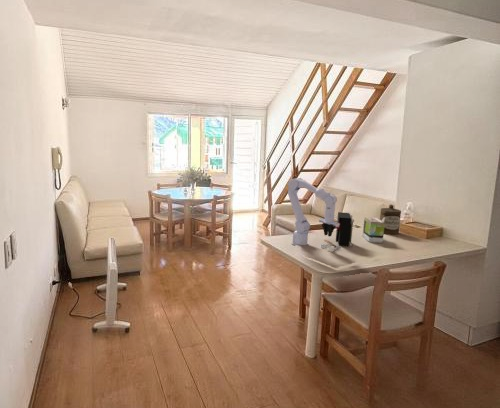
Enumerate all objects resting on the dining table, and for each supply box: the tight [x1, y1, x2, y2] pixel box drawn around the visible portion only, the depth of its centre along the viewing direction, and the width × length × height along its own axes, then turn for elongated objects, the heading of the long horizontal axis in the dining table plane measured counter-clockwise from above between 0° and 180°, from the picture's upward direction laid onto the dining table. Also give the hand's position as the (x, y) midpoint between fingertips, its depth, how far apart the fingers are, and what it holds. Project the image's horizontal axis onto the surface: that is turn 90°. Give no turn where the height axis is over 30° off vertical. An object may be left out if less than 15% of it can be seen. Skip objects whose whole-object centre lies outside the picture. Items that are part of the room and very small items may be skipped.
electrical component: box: [335, 211, 355, 247], centre depth 232 cm, size 18×10×20 cm, turn 168°
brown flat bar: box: [324, 239, 338, 248], centre depth 219 cm, size 4×11×1 cm, turn 127°
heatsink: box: [320, 243, 342, 252], centre depth 219 cm, size 11×13×3 cm
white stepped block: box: [326, 246, 335, 253], centre depth 214 cm, size 4×3×3 cm
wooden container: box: [379, 204, 402, 236], centre depth 270 cm, size 15×15×22 cm
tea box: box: [362, 217, 385, 243], centre depth 248 cm, size 15×10×15 cm
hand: (327, 235), depth 216 cm, fingers open, 2 cm apart
